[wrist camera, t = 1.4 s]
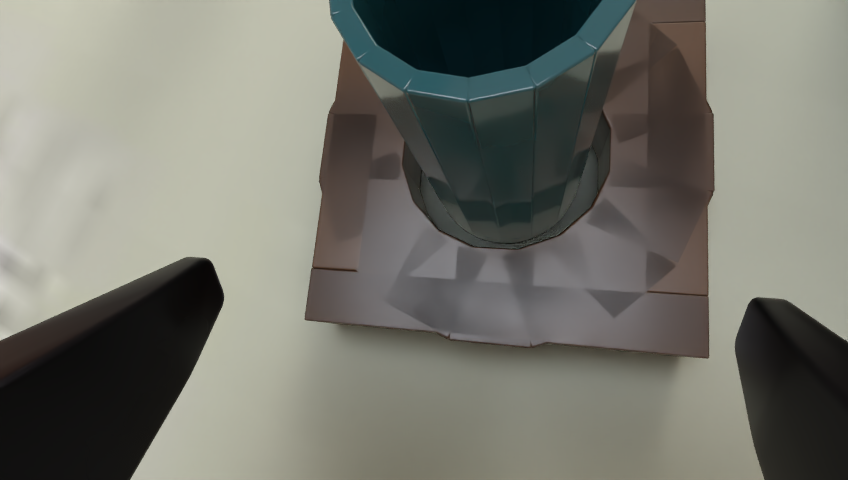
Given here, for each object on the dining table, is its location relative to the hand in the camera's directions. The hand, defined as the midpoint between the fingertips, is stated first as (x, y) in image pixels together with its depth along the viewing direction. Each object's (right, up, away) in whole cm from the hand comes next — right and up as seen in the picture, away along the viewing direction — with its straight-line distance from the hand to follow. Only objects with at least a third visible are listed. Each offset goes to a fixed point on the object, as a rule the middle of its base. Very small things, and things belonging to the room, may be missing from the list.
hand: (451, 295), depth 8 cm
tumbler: (+3, +4, +13) cm, 14 cm away
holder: (+3, +4, +13) cm, 14 cm away
